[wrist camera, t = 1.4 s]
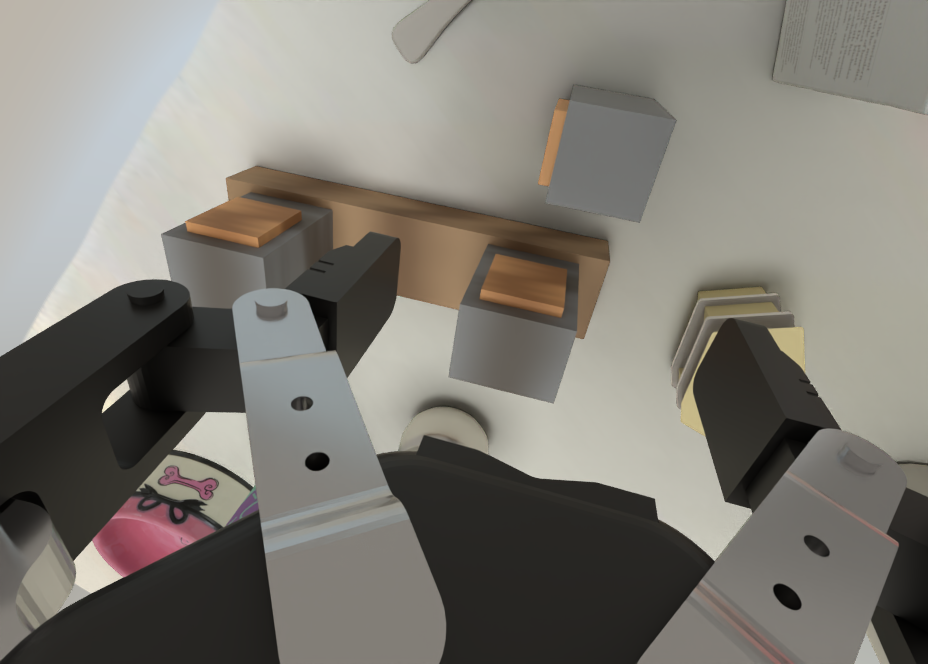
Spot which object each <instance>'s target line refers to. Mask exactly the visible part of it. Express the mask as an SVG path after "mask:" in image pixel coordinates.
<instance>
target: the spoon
mask: <svg viewBox="0 0 928 664" xmlns="http://www.w3.org/2000/svg"><path fill="white" fill-rule="evenodd" d="M470 1H471V0H428V1H427V2H426V3H425V4H423V5H422V6H421V7H419V8H418V9H416V10H415V11H414V12H412V13H411V14H409V15H408V16H406V17H405V18H404V19H402V20H401V21H400V22H399V23H397V25H396V26H395V27H394V28H393V31H392V39H393V41H394V43H395V45H396V47H397V49H398V50H399V52H400V53H401V55H402V56H403V57H404V59H405V60H406V61H408V62H409V63H417V62H418V61H419V60H421V59H422V58H423V56H424V55H425V54H426V53H427V51H428V50H429V49H430V47H431V46H432V45H433V43H434V42H435V41H436V39H437V38H438V37H439V36H440V34H441V33H442V32H443V30H444V29H445V28H446V27H447V25H448V24H449V23H450V22H451V21H452V20H453V18H454V17H455V16H456V15H457V14H458V13H459V12H460V11H461V10H462V9H463V8H464V7H465V6H466V5H467V4H468V3H469V2H470Z"/></svg>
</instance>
